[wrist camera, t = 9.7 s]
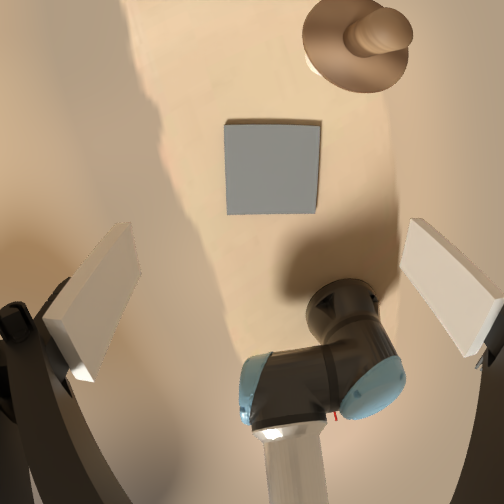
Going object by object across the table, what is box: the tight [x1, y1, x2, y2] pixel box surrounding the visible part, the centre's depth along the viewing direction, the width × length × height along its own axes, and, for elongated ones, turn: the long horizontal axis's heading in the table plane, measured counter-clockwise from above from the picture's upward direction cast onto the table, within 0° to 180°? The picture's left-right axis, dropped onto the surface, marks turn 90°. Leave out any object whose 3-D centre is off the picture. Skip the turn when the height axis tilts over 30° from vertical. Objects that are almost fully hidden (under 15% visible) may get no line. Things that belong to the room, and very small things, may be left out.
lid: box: [302, 0, 413, 93], centre depth 20 cm, size 12×12×9 cm
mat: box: [224, 124, 320, 215], centre depth 43 cm, size 14×14×1 cm
